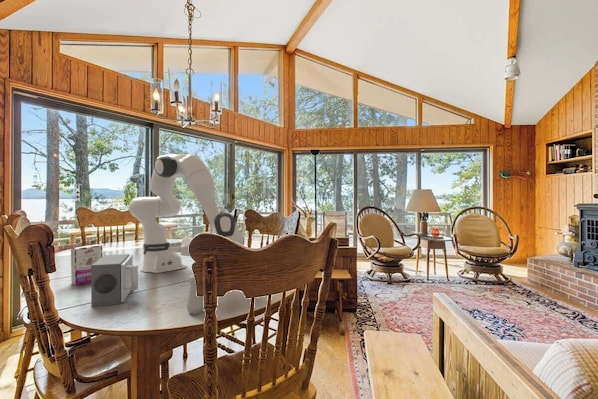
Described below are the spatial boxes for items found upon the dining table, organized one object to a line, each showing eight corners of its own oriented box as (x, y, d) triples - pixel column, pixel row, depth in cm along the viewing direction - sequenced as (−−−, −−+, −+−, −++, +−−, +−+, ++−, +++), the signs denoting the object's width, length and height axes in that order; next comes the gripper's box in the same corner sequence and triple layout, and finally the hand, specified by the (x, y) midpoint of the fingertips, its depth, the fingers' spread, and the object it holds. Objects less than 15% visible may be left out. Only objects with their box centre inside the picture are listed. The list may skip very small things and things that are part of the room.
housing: (104, 290, 124) (104, 255, 124) (129, 288, 127) (129, 254, 127) (89, 308, 106) (90, 266, 105) (118, 305, 109) (119, 264, 108)
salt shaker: (189, 309, 106) (189, 273, 106) (205, 308, 107) (206, 272, 106) (184, 315, 100) (184, 277, 100) (201, 315, 101) (202, 277, 101)
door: (130, 287, 128) (130, 254, 127) (143, 286, 129) (143, 254, 129) (120, 302, 110) (120, 264, 110) (136, 300, 112) (136, 263, 112)
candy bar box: (97, 278, 142) (98, 244, 142) (103, 279, 140) (103, 245, 139) (70, 283, 133) (70, 247, 132) (75, 285, 130) (75, 248, 130)
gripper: (203, 235, 133) (170, 236, 128) (206, 241, 114) (167, 243, 109) (203, 249, 133) (170, 250, 128) (206, 258, 114) (167, 260, 109)
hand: (168, 247), depth 119 cm, fingers open, 8 cm apart
